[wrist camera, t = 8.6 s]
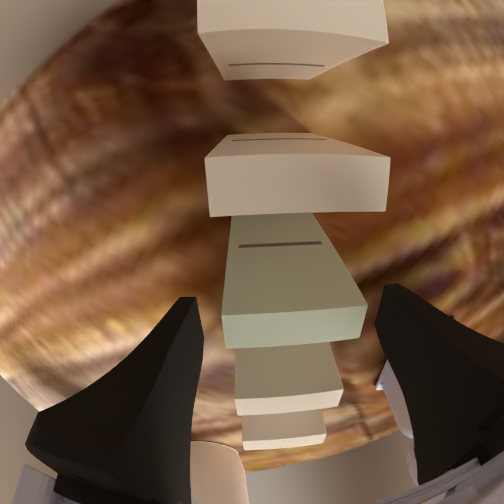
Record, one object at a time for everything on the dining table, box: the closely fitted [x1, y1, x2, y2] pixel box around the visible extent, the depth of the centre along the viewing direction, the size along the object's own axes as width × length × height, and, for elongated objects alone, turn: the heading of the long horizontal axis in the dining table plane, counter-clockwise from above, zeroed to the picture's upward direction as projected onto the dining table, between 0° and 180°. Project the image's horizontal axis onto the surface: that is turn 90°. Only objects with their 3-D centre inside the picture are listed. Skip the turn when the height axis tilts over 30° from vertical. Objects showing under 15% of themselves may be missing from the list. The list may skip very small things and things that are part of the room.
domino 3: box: [221, 213, 368, 348], centre depth 14 cm, size 2×5×10 cm, turn 92°
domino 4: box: [235, 342, 344, 415], centre depth 16 cm, size 2×5×10 cm, turn 92°
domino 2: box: [205, 133, 390, 217], centre depth 12 cm, size 2×5×10 cm, turn 92°
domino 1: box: [197, 0, 389, 81], centre depth 9 cm, size 2×5×10 cm, turn 93°
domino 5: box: [242, 409, 327, 450], centre depth 18 cm, size 2×5×10 cm, turn 92°
